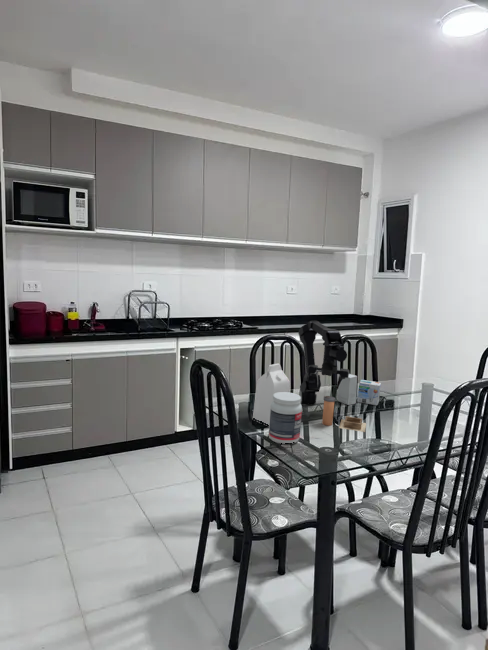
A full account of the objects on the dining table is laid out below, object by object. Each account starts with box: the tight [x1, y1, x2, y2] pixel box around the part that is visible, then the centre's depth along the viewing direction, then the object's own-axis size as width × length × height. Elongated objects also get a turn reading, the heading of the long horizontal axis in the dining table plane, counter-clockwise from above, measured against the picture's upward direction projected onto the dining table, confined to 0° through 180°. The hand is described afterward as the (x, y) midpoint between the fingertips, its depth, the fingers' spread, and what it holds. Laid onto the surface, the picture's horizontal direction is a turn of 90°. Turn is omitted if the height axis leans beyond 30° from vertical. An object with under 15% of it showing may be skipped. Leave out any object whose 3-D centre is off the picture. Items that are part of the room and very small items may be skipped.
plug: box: [321, 395, 336, 427], centre depth 202 cm, size 5×5×14 cm
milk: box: [252, 363, 291, 425], centre depth 206 cm, size 12×12×26 cm
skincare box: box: [336, 373, 358, 406], centre depth 238 cm, size 8×6×15 cm
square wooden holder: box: [338, 415, 367, 433], centre depth 203 cm, size 11×11×4 cm
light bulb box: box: [356, 379, 382, 406], centre depth 241 cm, size 11×7×11 cm, turn 68°
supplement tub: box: [268, 391, 303, 445], centre depth 186 cm, size 13×13×18 cm
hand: (326, 388), depth 216 cm, fingers open, 9 cm apart
